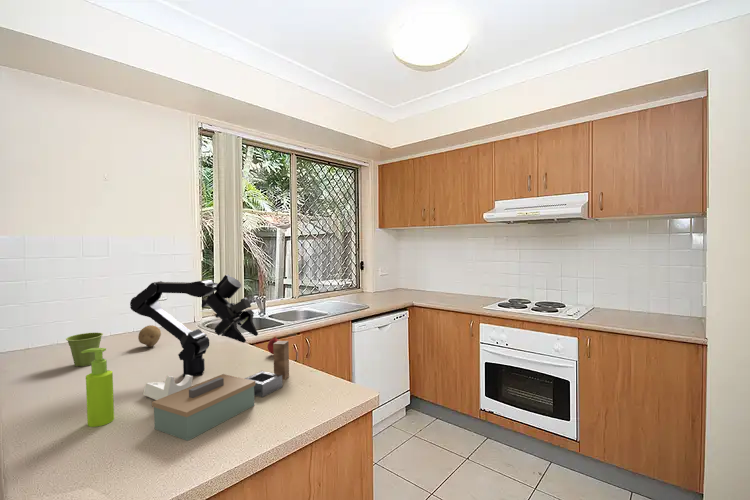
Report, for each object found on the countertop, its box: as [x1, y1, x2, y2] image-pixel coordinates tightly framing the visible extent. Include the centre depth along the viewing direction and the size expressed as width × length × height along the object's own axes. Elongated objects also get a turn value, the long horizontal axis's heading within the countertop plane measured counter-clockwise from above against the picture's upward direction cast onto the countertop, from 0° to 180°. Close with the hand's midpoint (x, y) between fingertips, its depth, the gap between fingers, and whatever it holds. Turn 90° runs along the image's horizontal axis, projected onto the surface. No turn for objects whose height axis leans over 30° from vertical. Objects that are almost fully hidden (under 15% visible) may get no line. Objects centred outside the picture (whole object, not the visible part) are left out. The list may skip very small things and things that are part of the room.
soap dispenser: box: [81, 347, 115, 428], centre depth 104 cm, size 6×7×20 cm
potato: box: [137, 324, 162, 348], centre depth 177 cm, size 9×9×10 cm
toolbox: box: [151, 373, 255, 442], centre depth 109 cm, size 14×28×9 cm, turn 152°
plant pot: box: [65, 332, 104, 367], centre depth 153 cm, size 12×12×11 cm
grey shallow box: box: [244, 370, 283, 398], centre depth 125 cm, size 9×9×4 cm
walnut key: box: [272, 340, 290, 381], centre depth 136 cm, size 4×4×12 cm
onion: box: [266, 335, 281, 356], centre depth 162 cm, size 6×6×8 cm
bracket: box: [142, 375, 194, 401], centre depth 121 cm, size 13×7×8 cm, turn 57°
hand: (251, 338), depth 137 cm, fingers open, 9 cm apart
